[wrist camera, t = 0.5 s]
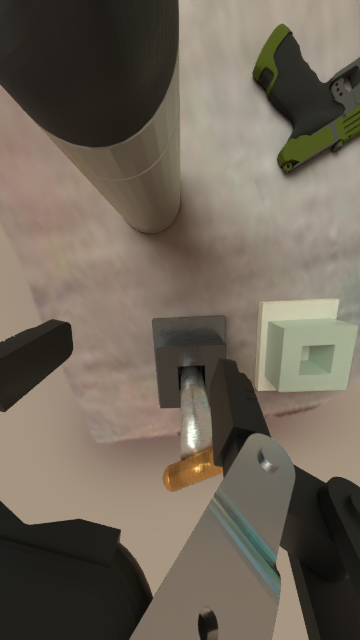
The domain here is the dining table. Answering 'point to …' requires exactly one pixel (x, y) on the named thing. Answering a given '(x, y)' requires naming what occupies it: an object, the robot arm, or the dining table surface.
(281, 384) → the pale green socket base
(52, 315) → the dining table surface
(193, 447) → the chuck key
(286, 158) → the gun
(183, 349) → the block
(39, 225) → the dining table surface
